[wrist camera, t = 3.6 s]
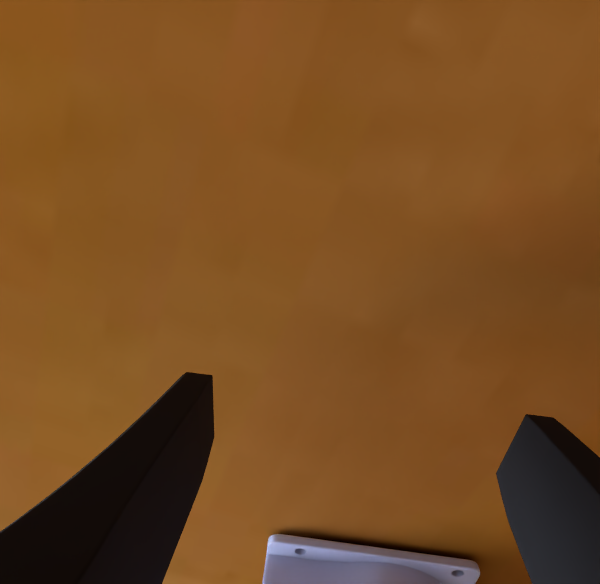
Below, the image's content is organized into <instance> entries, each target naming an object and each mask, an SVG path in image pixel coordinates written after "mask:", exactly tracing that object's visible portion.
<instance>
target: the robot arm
mask: <svg viewBox="0 0 600 584" xmlns="http://www.w3.org/2000/svg"><path fill="white" fill-rule="evenodd" d="M213 439H214V414H213V380H212V375H205V374H197V373H189V372H186V373H185V374H184V375H182V376H181V377H180V378H179V379H178V380H177V381H176V382H175V383H174V384H173V385H172V386H171V387H170V388H169V389H168V390H167V391H166V392H165V393H164V394H163V395H162V396H161V397H160V398H159V399H158V400H157V401H156V402H155V403H154V404H153V405H152V406H151V407H150V408H149V409H148V410H147V411H146V412H145V413H144V414H143V415H142V416H141V417H140V418H139V419H138V420H136V421H135V422H134V423H133V424H132V425H131V426H130V427H129V428H128V429H127V430H126V431H125V432H123V433H122V434H121V435H120V436H119V437H118V438H117V439H116V440H115V441H114V442H113V443H111V444H110V445H109V446H108V447H107V448H106V449H105V450H103V451H102V452H101V453H100V454H99V455H98V456H96V457H95V458H94V459H93V460H92V461H90V462H89V463H88V464H87V465H86V466H85V467H83V468H82V469H81V470H80V471H79V472H77V473H76V474H75V475H74V476H73V477H72V478H70V479H69V480H68V481H67V482H65V483H64V484H63V485H62V486H60V487H59V488H58V489H57V490H55V491H54V492H53V493H52V494H50V495H49V496H48V497H46V498H45V499H44V500H42V501H41V502H40V503H39V504H37V505H36V506H35V507H33V508H32V509H31V510H29V511H28V512H27V513H25V514H24V515H23V516H21V517H20V518H19V519H17V520H16V521H14V522H13V523H12V524H10V525H9V526H8V527H6V528H5V529H3V530H2V531H0V584H162V582H163V579H164V577H165V574H166V572H167V569H168V567H169V564H170V561H171V559H172V556H173V554H174V551H175V549H176V546H177V544H178V541H179V539H180V536H181V534H182V531H183V528H184V526H185V523H186V521H187V518H188V516H189V513H190V511H191V508H192V505H193V503H194V500H195V498H196V495H197V493H198V490H199V487H200V485H201V482H202V479H203V476H204V472H205V469H206V465H207V462H208V458H209V454H210V451H211V447H212V443H213ZM496 475H497V479H498V483H499V487H500V491H501V496H502V500H503V503H504V507H505V511H506V514H507V518H508V521H509V524H510V527H511V530H512V532H513V535H514V538H515V540H516V543H517V545H518V548H519V551H520V553H521V556H522V559H523V561H524V564H525V566H526V569H527V571H528V574H529V577H530V579H531V582H532V584H600V458H599V457H598V456H597V455H596V454H595V453H594V452H593V451H592V450H590V449H589V448H588V447H587V446H586V445H585V444H584V443H583V442H581V441H580V440H579V439H578V438H577V437H576V436H575V435H573V434H572V433H571V432H570V431H569V430H568V429H567V428H565V427H564V426H563V425H562V424H561V423H559V422H558V421H557V420H556V419H554V418H552V417H544V416H536V415H528V414H526V415H525V417H524V419H523V421H522V423H521V425H520V427H519V429H518V431H517V433H516V435H515V437H514V439H513V441H512V443H511V445H510V447H509V449H508V451H507V453H506V455H505V457H504V459H503V461H502V463H501V465H500V467H499V469H498V471H497V473H496ZM479 576H480V570H479V567H478V564H477V563H476V562H474V561H472V560H467V559H460V558H452V557H445V556H438V555H430V554H423V553H416V552H408V551H401V550H394V549H387V548H379V547H372V546H365V545H357V544H350V543H343V542H336V541H328V540H321V539H314V538H306V537H299V536H292V535H284V534H273V535H272V536H270V537H269V539H268V546H267V556H266V563H265V569H264V576H263V583H262V584H475V583H476V581H477V579H478V578H479Z"/></svg>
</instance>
